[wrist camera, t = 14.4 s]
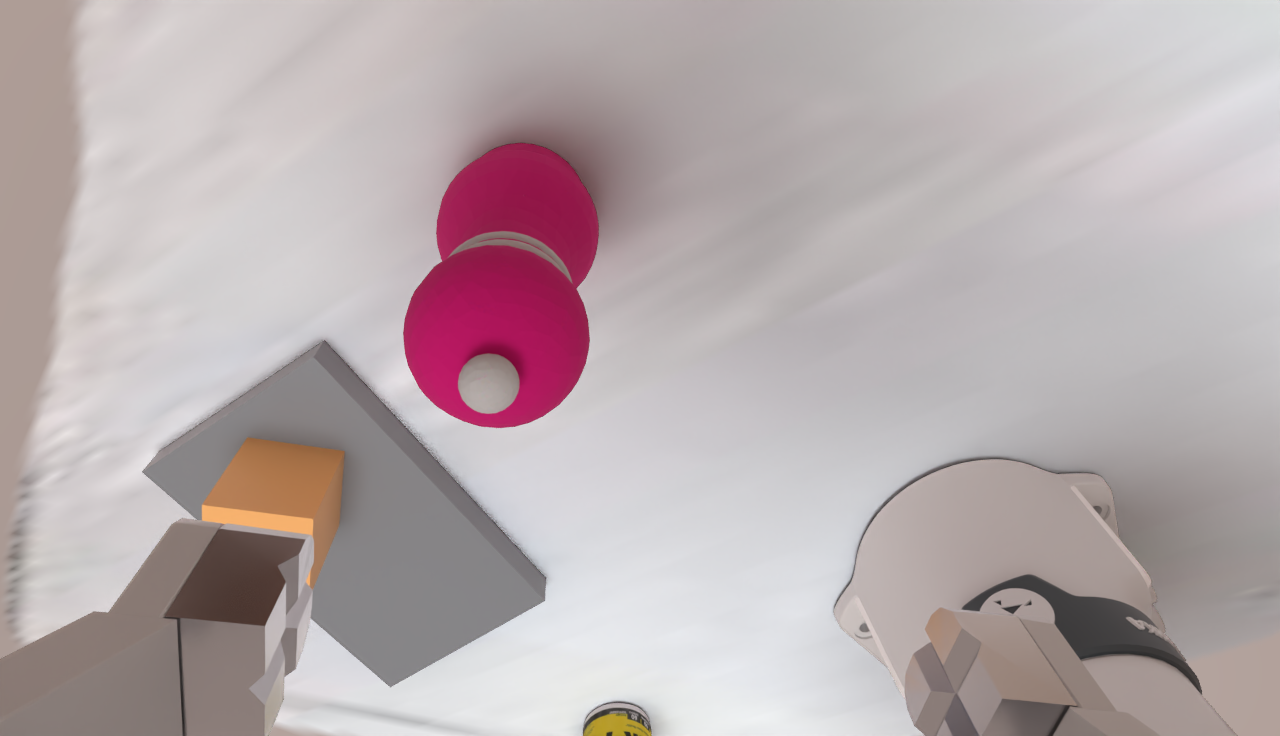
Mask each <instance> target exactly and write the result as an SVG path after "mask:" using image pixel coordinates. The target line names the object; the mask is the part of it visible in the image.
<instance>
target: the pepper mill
mask: <svg viewBox="0 0 1280 736" xmlns="http://www.w3.org/2000/svg"><path fill="white" fill-rule="evenodd" d="M436 234H437V244H438V248H439V252H440V255H441V259H442V262H441V263H439V264H438V265H436V266H435V267H434V268H433V269H432V270H431V271H430V273H429V274H428V275H427V276H426V278H425V279H424V280H423V281H422V283H421V284H420V285H419V286H418V288H417V289H416V290H415V292H414V294H413V296H412V298H411V301H410V304H409V307H408V310H407V314H406V317H405V323H404V332H403V335H404V347H405V355H406V359H407V362H408V366H409V368H410V370H411V372H412V374H413V376H414V378H415V380H416V382H417V384H418V386H419V388H420V389H421V390H422V392H423V393H424V394H425V395H426V396H427V397H428V398H429V399H430V400H431V401H432V402H433V403H434V404H435V405H436V406H437V407H439V408H440V409H442V410H443V411H445V412H446V413H448V414H449V415H451V416H454V417H456V418H458V419H460V420H462V421H464V422H468V423H471V424H474V425H478V426H482V427H494V428H504V427H515V426H519V425H522V424H526V423H529V422H532V421H534V420H536V419H538V418H540V417H543V416H544V415H546V414H547V413H548V412H550V411H551V410H552V409H554V408H555V407H557V406H558V405H559V404H560V403H561V402H562V401H563V400H564V399H565V398H566V396H567V395H568V394H569V393H570V392H571V391H572V389H573V388H574V386H575V385H576V383H577V382H578V380H579V378H580V376H581V373H582V371H583V369H584V366H585V364H586V359H587V355H588V350H589V341H590V338H589V327H588V318H587V315H586V311H585V307H584V304H583V302H582V300H581V298H580V295H579V293H578V291H577V289H576V288H577V287H578V286H579V285H580V284H581V283H582V281H583V280H584V279H585V278H586V276H587V274H588V272H589V270H590V268H591V266H592V264H593V261H594V258H595V255H596V249H597V243H598V236H599V229H598V219H597V213H596V209H595V207H594V204H593V201H592V199H591V197H590V195H589V193H588V191H587V189H586V188H585V187H584V185H583V184H582V182H581V181H580V179H579V177H578V175H577V174H576V172H575V170H574V169H573V168H572V167H571V166H570V165H569V163H568V162H567V161H565V160H564V159H563V158H561V157H560V156H559V155H558V154H556V153H554V152H552V151H551V150H549V149H547V148H544V147H541V146H537V145H534V144H526V143H515V144H507V145H504V146H501V147H498V148H495V149H493V150H491V151H489V152H488V153H486V154H485V155H483V156H482V157H481V158H479V159H477V160H475V161H474V162H472V163H471V164H469V165H468V166H466V167H465V168H464V169H463V170H462V171H461V172H460V173H459V174H458V175H457V176H456V177H455V178H454V180H453V181H452V182H451V183H450V185H449V187H448V189H447V191H446V193H445V195H444V197H443V199H442V202H441V206H440V210H439V215H438V219H437V231H436Z"/></svg>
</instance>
